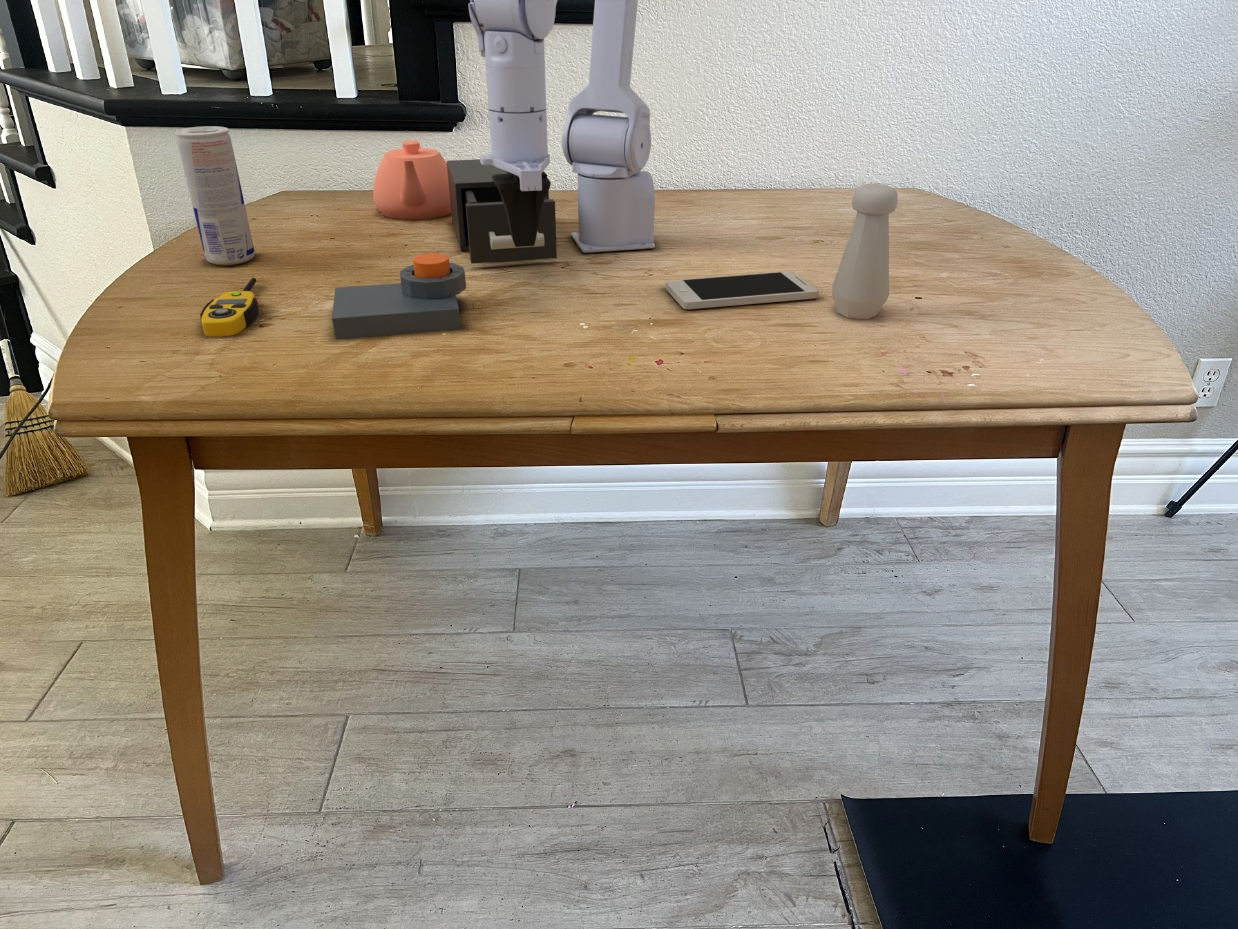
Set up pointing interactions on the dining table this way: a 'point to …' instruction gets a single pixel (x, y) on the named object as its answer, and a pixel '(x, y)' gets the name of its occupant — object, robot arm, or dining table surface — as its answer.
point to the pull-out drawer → (503, 229)
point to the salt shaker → (866, 254)
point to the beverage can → (216, 194)
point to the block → (399, 305)
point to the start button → (431, 265)
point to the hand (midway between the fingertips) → (524, 244)
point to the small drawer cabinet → (465, 177)
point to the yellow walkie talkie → (230, 312)
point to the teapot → (412, 183)
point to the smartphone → (740, 290)
